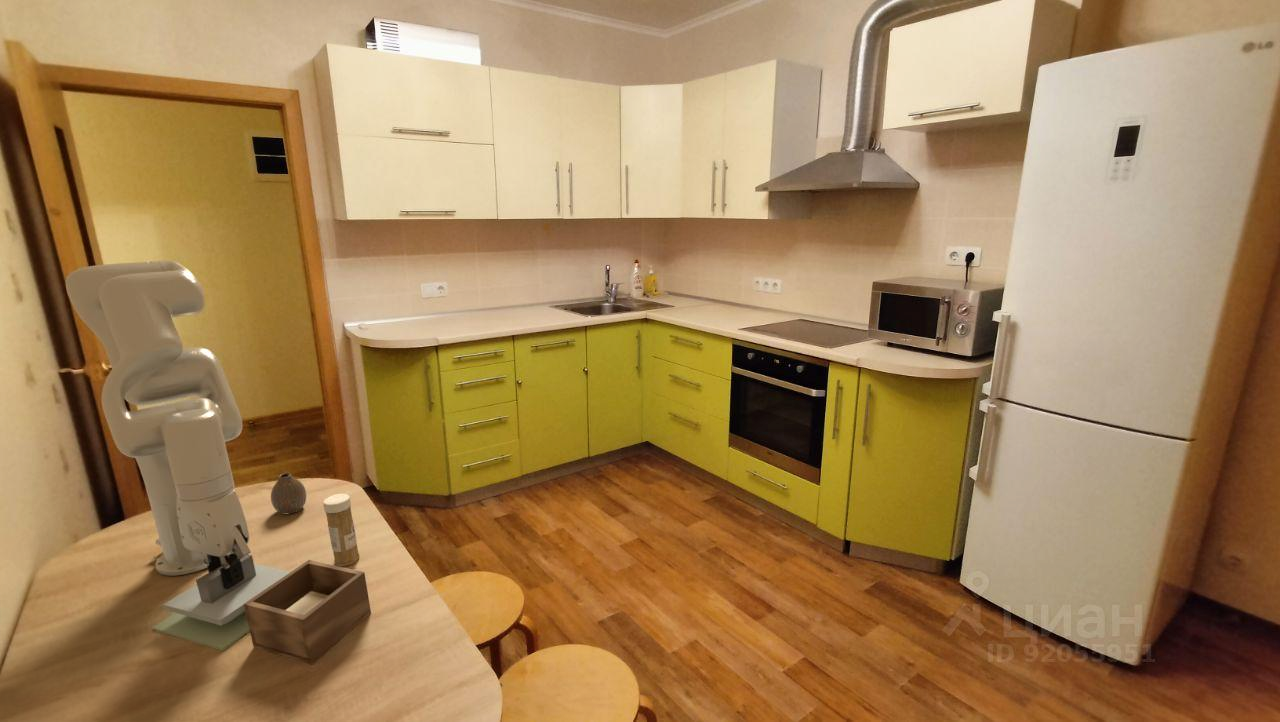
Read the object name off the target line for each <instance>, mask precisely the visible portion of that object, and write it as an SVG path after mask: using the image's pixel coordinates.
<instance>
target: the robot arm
mask: <svg viewBox="0 0 1280 722" xmlns="http://www.w3.org/2000/svg"><path fill="white" fill-rule="evenodd" d="M65 288H66V293H67V296H68V298H69V300H70V303H71V304H72V306H73V309H74V310H75V312H76V314H77V315H78V316H79V318H80V319H81V320H82V321H83V323H84V324H85V325H86V326H87V327H88V329H90V330H91V332H93V333H94V335H95V336H96V337H97V338H98V340H99V341H100V342H101V344H102V346H103V348H104V351H105V353H106V356H107V359H108V361H109V364H110V367H111V370H110V372H109V374H108V375H107V378H106V379H105V382H104V384H103V388H102V391H101V406H102V407H101V408H102V411H103V414H104V417H105V420H106V422H107V425H108V428H109V429H108V430H109V431H110V435H111V438H112V440H113V442H114V444H115V446H116V448H117V450H118V451H119V452H120V453H121V454H122V455H124V456H126V457H129V458H133V459H134V458H135V461H136V463H137V465H138V468H139V470H140V475H141V476H142V480H143V483H144V486H145V490H146V493H147V496H148V501H149V505H150V508H151V509H150V510H151V511H152V512H151V513H152V517H153V520H154V524H155V527H156V531H157V534H158V538H157V539H156V540H155V544H156V546H161V551H162V553H163V554H161V555H160V556H159V557H158V558H157V560H156V562H155V564H154V565H155V569H156V572H157V573H159V574H160V575H163V576H170V577H172V576H175V577H176V576H183V575H188V574H193V573H195V572H196V573H197V572H199V571H203V570H205V569H207V573H209V572H211V571H213V570H215V569H217V568H219V567H220V566H222V568H221V569H220V573H221V577H222V581H223V585H224V588H225V589H230V588H231V587H233V586H235V585H236V584H238V583H239V582H241V581H242V580H244V574H243V569H242V565H241V561H240V560H242V558H243V557H245V556H246V555H251V549H250V548H249V546H248V543H249V541H250V532H249V528H248V524H247V519H246V516H245V512H244V509H243V507H242V504H241V501H240V498H239V496H238V494H237V491H236V489H235V482H234V477H233V472H232V468H231V463H230V460H229V454H228V450H227V445H226V442H229V441H232V440H235V439H236V438H237V437H239V436H240V434H241V433H242V431H243V420H242V419H243V418H242V414H241V412H240V409H239V407H238V404H237V401H236V400H235V395H233V392H232V389H231V387H230V384H229V381H228V380H227V377H226V374H225V371H224V369H223V367H222V365H221V362H220V360H219V359H218V357H217V356H216V355H215V353H214V352H213V351H211V349H207V348H206V347H205V348H204V347H199V346H198V347H188V348H184V344H183V341H182V340H181V337H180V335H179V332H178V330H177V328H176V326H175V324H174V321H173V320H174V319H173V318H179V317H187V316H194V315H198V314H200V313H202V312H203V311H204V310H205V306H206V297H205V292H204V290H203V287H202V285H201V283H200V281H199V279H198V278H197V277H196V276H195V275H194V273H193V272H191V271H190V270H189V269H188V268H186V267H185V266H184V265H182V264H180V263H179V262H177V261H173V260H155V261H152V260H151V261H139V262H137V261H136V262H123V263H109V264H108V263H107V264H99V265H90V266H85V267H81V268H77V269H76V270H73V271H71V272H70V273H69V274H68V275H67V276H66V280H65ZM190 397H191V398H190ZM192 397H195V398H192ZM187 398H190V399H187ZM181 399H185V400H181ZM176 400H180V401H176ZM125 401H126V402H127V403H128V404H131V405H133V406H140V407H141V406H151V405H155V406H151V407H146V408H142V409H137V410H136V409H135V410H132V411H129V410H128V409H127V406H126V402H125ZM171 401H172V402H171ZM173 401H175V402H173ZM167 402H169V403H167ZM161 403H165V404H161ZM157 404H160V405H157Z"/></svg>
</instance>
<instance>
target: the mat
mask: <svg viewBox="0 0 1280 722" xmlns="http://www.w3.org/2000/svg"><path fill="white" fill-rule="evenodd" d="M151 628H152V630H153V631H157V632H160V633H163V634H166V635H170V636H173V637H176V638H180V639H182V640H186V641H188V642H189V641H190V642H194V643H196V644H200V645H203V646H205V647H208V648H212V649H216V650H219V651H225V650H226V649H228V648H229V647H230V646H232V645H233V644H234V643H236V642H237V641H238V640H240V639H241V638H242V637H244V636H245V635H247V634H248V633H250V629H249V625H248V621H247V616H246V612H243V613H242V614H240V615H239V616H237V617H236V618H234V619H233V620H232V621H230V622H229V623H227V624H223V625H222V626H221V625H217V624H214V623H210V622H207V621H203V620H199V619H196V618H192V617H189V616H185V615H182V614H178V613H175V612H174V613H173V614H172V615H170V616H169V617H167V618H165V619H163V620H162V621H160V622H159V623H157V624H156V625H154V626H152V627H151Z"/></svg>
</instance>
